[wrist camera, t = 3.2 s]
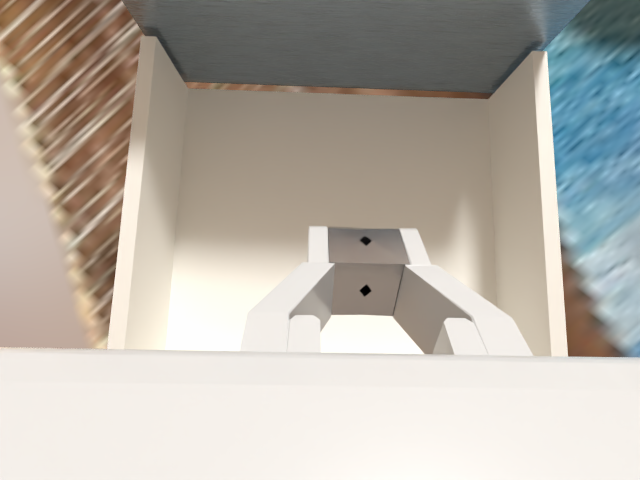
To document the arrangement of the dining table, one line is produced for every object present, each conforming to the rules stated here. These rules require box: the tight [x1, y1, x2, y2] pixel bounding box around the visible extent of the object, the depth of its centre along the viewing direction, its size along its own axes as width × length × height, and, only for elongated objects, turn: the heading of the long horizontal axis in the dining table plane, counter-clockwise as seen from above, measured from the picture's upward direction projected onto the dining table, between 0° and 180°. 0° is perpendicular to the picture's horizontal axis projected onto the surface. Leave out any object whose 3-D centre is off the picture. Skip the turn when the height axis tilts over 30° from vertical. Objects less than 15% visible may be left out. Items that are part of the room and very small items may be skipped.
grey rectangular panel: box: [122, 0, 590, 93], centre depth 19 cm, size 2×22×12 cm, turn 88°
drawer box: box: [107, 36, 568, 357], centre depth 22 cm, size 18×22×7 cm
